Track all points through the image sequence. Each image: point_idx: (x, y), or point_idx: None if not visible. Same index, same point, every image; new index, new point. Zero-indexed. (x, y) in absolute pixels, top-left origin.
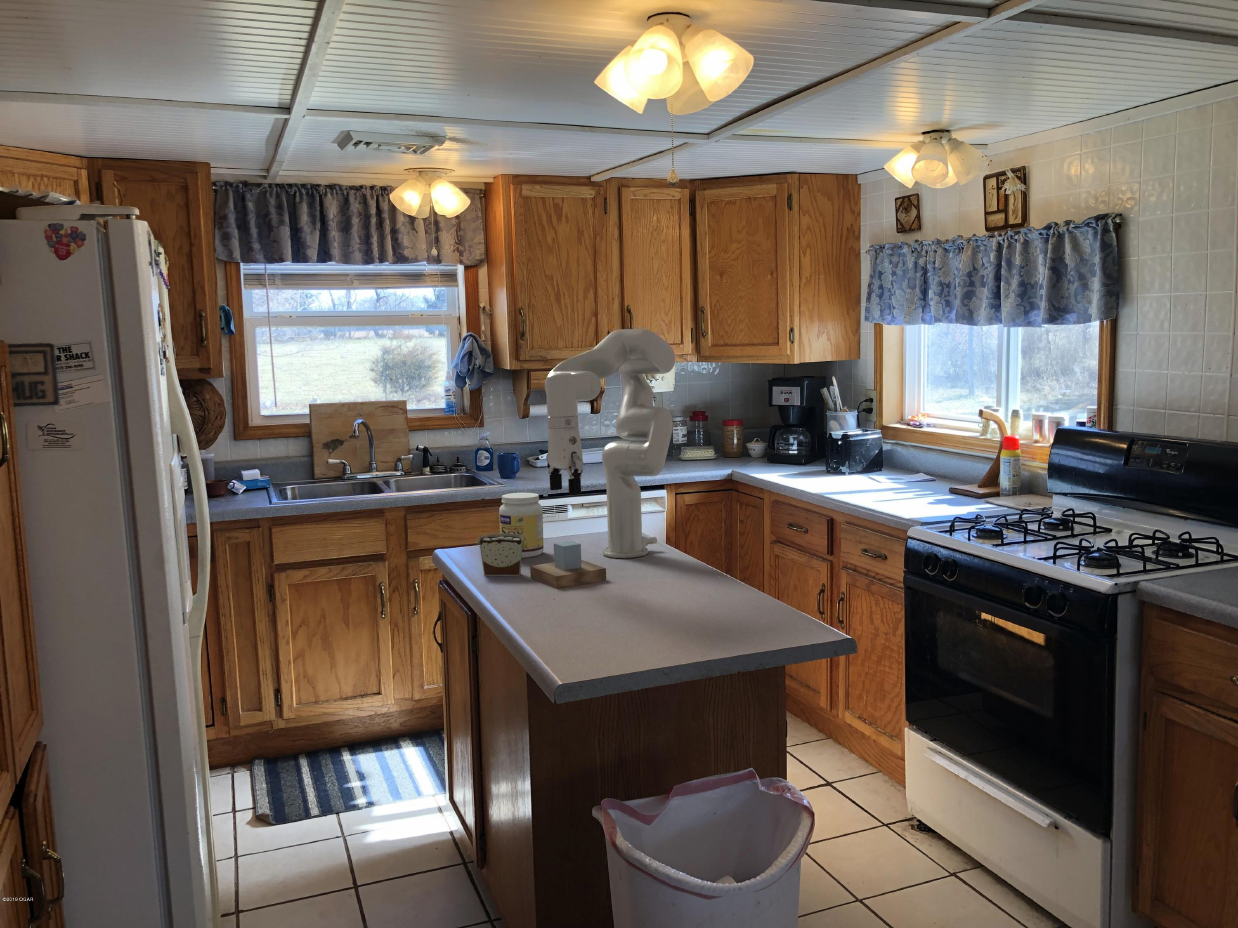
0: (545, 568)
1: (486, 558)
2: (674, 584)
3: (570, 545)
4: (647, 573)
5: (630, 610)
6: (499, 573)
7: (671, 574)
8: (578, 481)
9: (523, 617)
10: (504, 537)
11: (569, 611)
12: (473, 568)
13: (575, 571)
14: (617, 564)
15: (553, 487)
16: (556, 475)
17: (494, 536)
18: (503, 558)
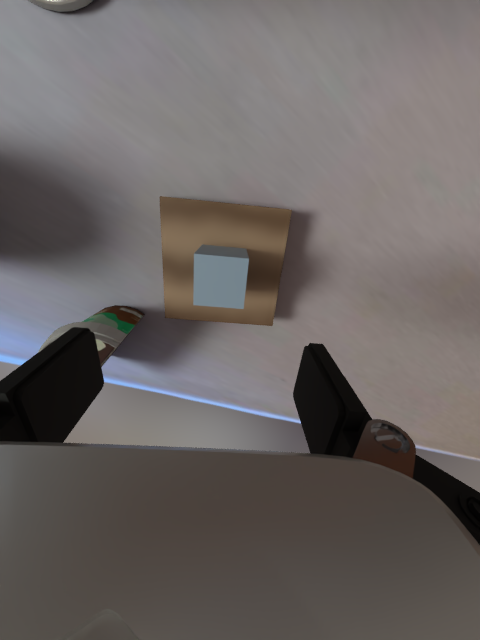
0: (203, 307)
1: None
2: (439, 108)
3: (245, 289)
4: (311, 75)
5: (461, 307)
6: (122, 340)
7: (371, 20)
8: (365, 418)
9: None
10: None
11: (384, 367)
12: None
13: (266, 279)
14: (171, 65)
15: (94, 384)
16: (38, 426)
17: None
18: (114, 349)
